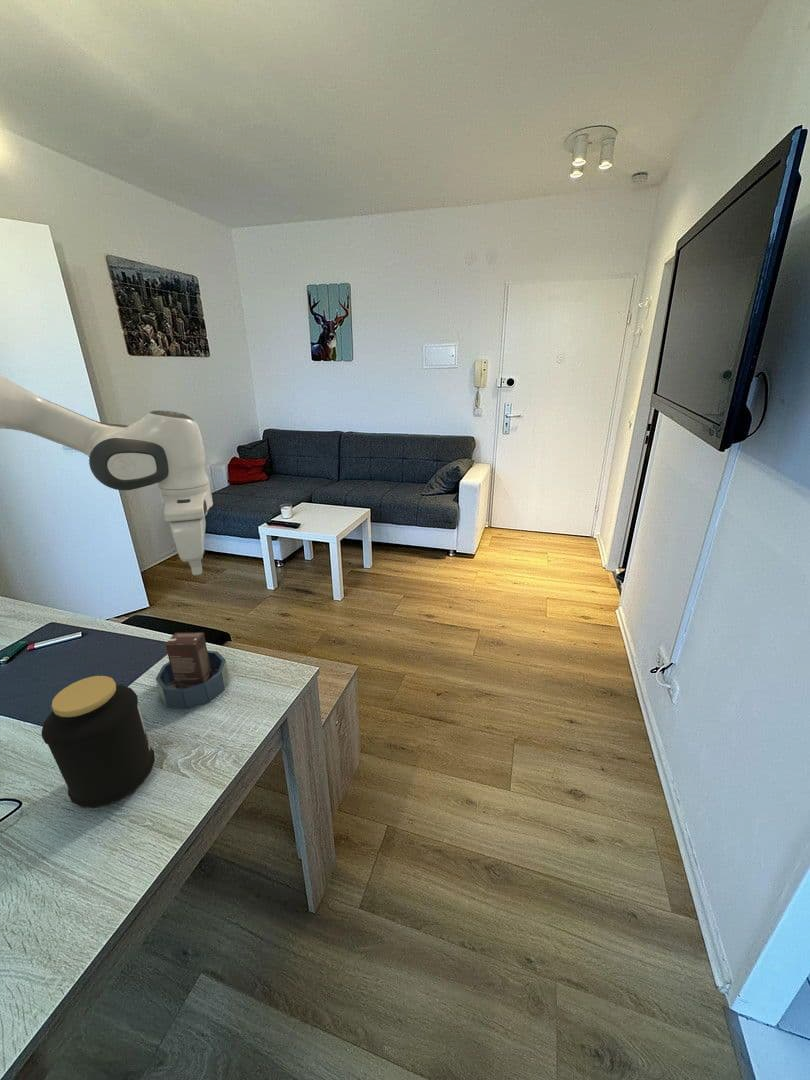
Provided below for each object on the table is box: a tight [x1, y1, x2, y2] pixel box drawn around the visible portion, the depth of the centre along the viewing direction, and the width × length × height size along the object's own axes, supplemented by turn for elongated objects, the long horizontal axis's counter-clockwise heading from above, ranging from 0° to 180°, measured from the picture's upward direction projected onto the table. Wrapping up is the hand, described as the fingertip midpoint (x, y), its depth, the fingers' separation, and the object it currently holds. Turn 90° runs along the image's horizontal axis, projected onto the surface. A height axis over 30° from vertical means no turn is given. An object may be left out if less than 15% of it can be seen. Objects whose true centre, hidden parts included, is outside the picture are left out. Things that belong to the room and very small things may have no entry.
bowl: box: [155, 650, 230, 710], centre depth 89 cm, size 12×13×4 cm
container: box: [41, 675, 156, 809], centre depth 66 cm, size 12×12×18 cm
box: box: [164, 632, 213, 689], centre depth 87 cm, size 6×4×12 cm
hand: (198, 563), depth 88 cm, fingers open, 8 cm apart
